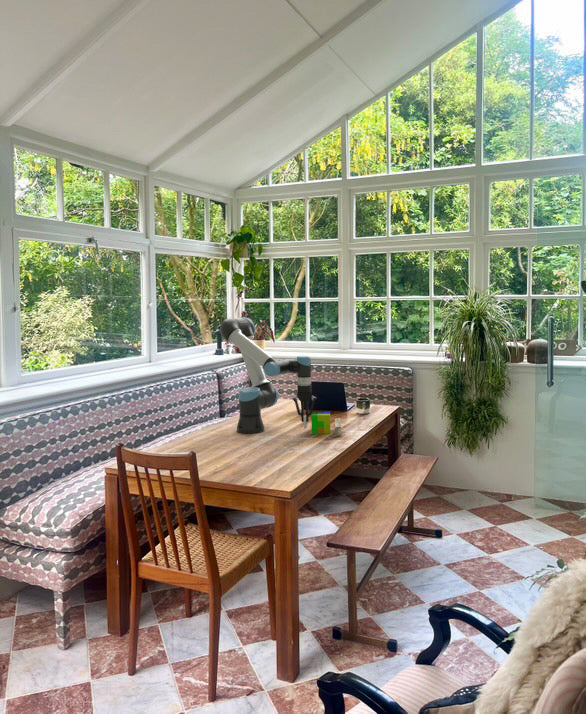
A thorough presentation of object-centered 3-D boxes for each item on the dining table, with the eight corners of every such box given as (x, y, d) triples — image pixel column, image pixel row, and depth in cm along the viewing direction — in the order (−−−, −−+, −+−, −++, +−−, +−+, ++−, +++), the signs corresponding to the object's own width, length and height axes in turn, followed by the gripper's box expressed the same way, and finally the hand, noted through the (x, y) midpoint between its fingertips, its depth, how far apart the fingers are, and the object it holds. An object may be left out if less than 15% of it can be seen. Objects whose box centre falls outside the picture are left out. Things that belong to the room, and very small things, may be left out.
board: (335, 436, 327) (335, 426, 326) (335, 427, 349) (335, 418, 348) (340, 436, 327) (340, 426, 326) (340, 427, 348) (340, 418, 348)
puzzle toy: (330, 429, 343) (330, 411, 342) (330, 433, 333) (330, 415, 332) (312, 429, 344) (312, 411, 343) (311, 433, 334) (311, 415, 333)
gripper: (291, 385, 333) (292, 429, 335) (316, 385, 332) (316, 429, 334) (292, 383, 340) (293, 426, 343) (316, 383, 339) (317, 426, 342)
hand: (305, 427), depth 338 cm, fingers closed
